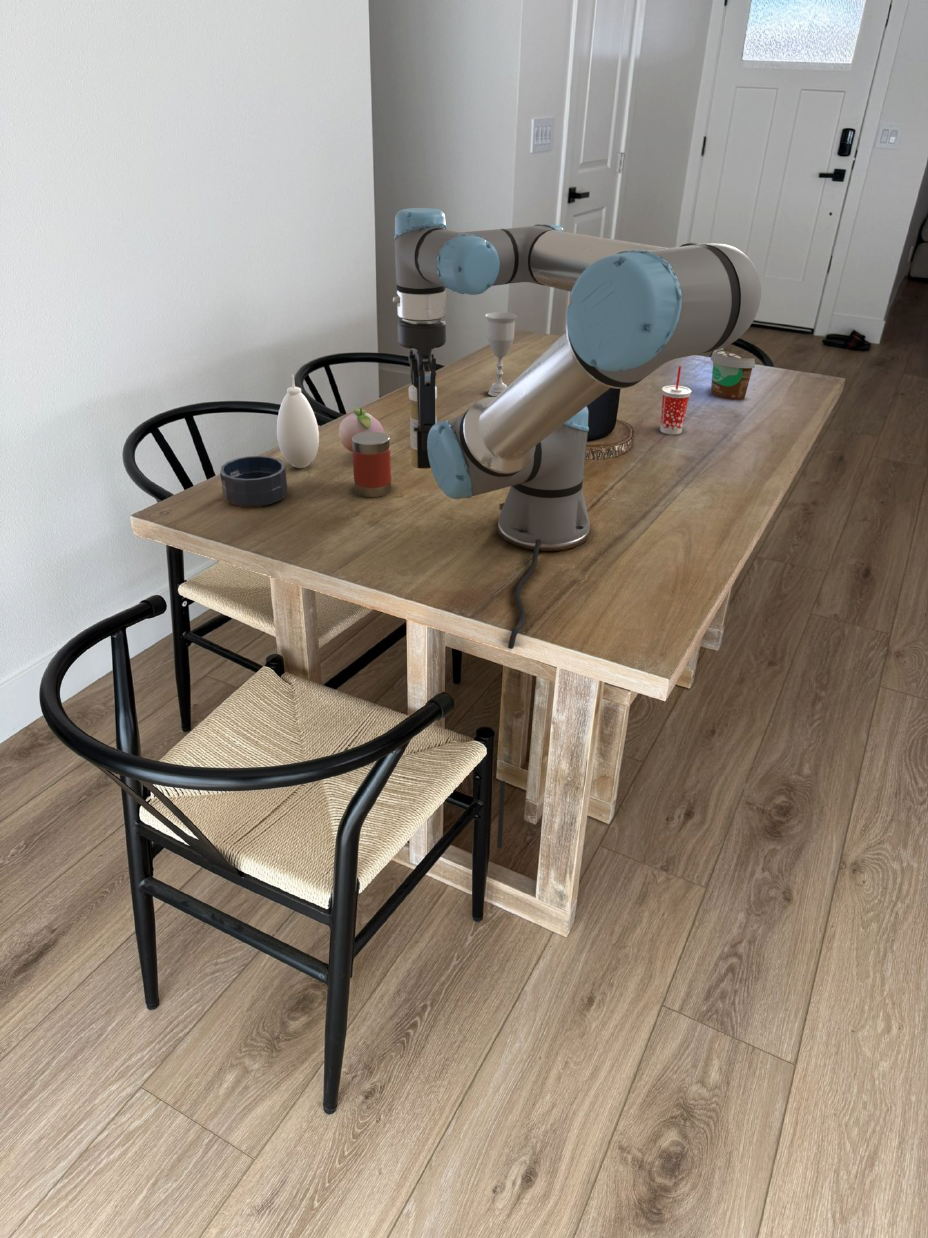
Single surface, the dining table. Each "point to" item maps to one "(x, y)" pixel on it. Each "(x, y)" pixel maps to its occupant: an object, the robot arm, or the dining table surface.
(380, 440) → the tin can
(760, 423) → the dining table surface
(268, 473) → the bowl
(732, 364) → the food container
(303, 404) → the sauce bottle
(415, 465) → the sprinkles bottle
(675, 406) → the beverage cup
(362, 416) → the decorative fruit
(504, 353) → the chalice
